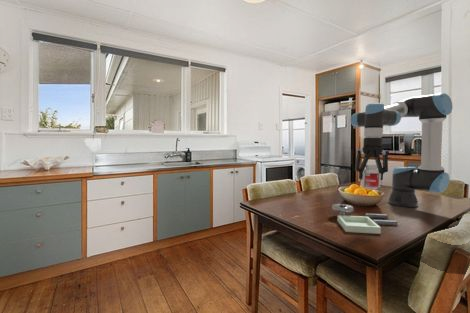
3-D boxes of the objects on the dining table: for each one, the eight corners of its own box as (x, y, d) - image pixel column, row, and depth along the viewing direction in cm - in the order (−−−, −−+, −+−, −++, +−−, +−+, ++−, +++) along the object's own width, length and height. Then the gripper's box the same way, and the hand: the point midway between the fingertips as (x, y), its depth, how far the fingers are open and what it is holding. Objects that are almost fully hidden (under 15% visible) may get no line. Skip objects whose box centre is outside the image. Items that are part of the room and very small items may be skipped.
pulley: (349, 214, 126) (350, 202, 126) (356, 221, 117) (356, 208, 116) (329, 213, 128) (330, 202, 128) (334, 219, 118) (335, 207, 118)
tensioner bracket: (386, 217, 121) (386, 214, 121) (397, 225, 110) (397, 221, 110) (365, 216, 123) (365, 213, 123) (374, 224, 112) (374, 220, 112)
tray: (367, 222, 115) (367, 216, 115) (380, 233, 101) (380, 227, 101) (337, 220, 117) (337, 215, 117) (345, 231, 103) (346, 225, 103)
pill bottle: (361, 188, 111) (362, 165, 110) (364, 186, 116) (365, 164, 115) (376, 190, 107) (377, 166, 106) (378, 188, 112) (380, 165, 111)
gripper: (391, 137, 112) (388, 186, 113) (348, 137, 115) (346, 184, 116) (399, 137, 104) (396, 189, 106) (353, 136, 107) (351, 187, 109)
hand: (370, 186), depth 111 cm, fingers closed on pill bottle, 6 cm apart
